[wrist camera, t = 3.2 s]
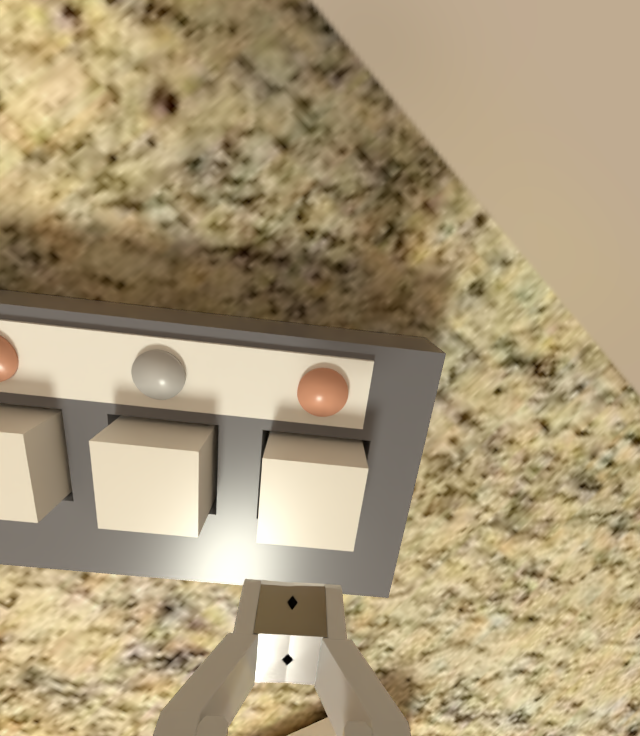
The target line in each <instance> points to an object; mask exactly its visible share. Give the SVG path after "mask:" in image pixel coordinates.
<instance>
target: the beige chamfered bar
mask: <svg viewBox="0 0 640 736" xmlns="http://www.w3.org/2000/svg"><path fill="white" fill-rule="evenodd" d="M287 736H336V733H335V731H334V729H333V727H332V725H331V722H330V720H329V718H328V717H327V718H325V719H323V720H320V721H318V722H316V723H314V724H312V725H309V726H307V727H305V728H303V729H300V730H298V731H296V732H294V733H291V734H289V735H287Z"/></svg>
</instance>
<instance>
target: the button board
mask: <svg viewBox="0 0 640 736" xmlns="http://www.w3.org/2000/svg"><path fill="white" fill-rule="evenodd" d="M445 355H446V353H445V352H443V351H442V350H441V349H439V348H438V347H437V346H435V345H434V344H433V343H431V342H430V341H429V340H427V339H426V338H423V337H414V336H405V335H396V334H388V333H379V332H370V331H361V330H352V329H343V328H335V327H326V326H317V325H308V324H299V323H291V322H282V321H273V320H264V319H255V318H247V317H238V316H229V315H220V314H211V313H203V312H194V311H185V310H176V309H167V308H158V307H150V306H141V305H132V304H123V303H114V302H106V301H97V300H88V299H79V298H70V297H62V296H53V295H44V294H35V293H26V292H18V291H9V290H0V403H5V404H15V405H25V406H35V407H45V408H54V409H62V414H63V422H64V429H65V437H66V445H67V453H68V461H69V469H70V476H71V484H72V491H71V492H70V493H69V494H68V495H67V496H66V497H65V498H64V499H63V500H62V501H61V502H60V503H59V504H58V505H57V506H56V507H54V508H53V509H52V510H51V511H50V512H49V513H48V514H47V515H46V516H45V517H44V518H43V519H42V520H41V521H40V522H38V523H32V522H21V521H10V520H0V564H3V565H15V566H26V567H38V568H50V569H61V570H73V571H84V572H96V573H107V574H119V575H131V576H142V577H154V578H165V579H177V580H188V581H200V582H212V583H223V584H235V585H243V583H244V581H245V579H255V580H261V581H262V580H268V581H279V582H290V583H293V582H299V583H319V584H331V585H340V586H341V588H342V594H350V595H362V596H373V597H385V598H388V597H389V592H390V588H391V584H392V580H393V575H394V571H395V567H396V563H397V558H398V554H399V550H400V546H401V541H402V537H403V533H404V529H405V525H406V520H407V516H408V512H409V508H410V503H411V499H412V495H413V491H414V486H415V482H416V478H417V474H418V469H419V465H420V461H421V457H422V452H423V448H424V444H425V440H426V435H427V431H428V427H429V423H430V419H431V414H432V410H433V406H434V402H435V397H436V393H437V389H438V385H439V380H440V376H441V372H442V368H443V363H444V359H445ZM121 415H123V416H132V417H142V418H152V419H162V420H172V421H181V422H191V423H201V424H211V425H219V435H218V472H217V495H216V498H215V500H214V502H213V505H212V507H211V509H210V512H209V514H208V516H207V518H206V521H205V523H204V525H203V528H202V530H201V532H200V534H199V537H198V538H197V537H186V536H175V535H164V534H153V533H142V532H131V531H120V530H109V529H98V523H97V514H96V504H95V495H94V485H93V475H92V466H91V456H90V447H89V440H91V439H92V438H93V437H94V436H96V435H97V434H98V433H99V432H101V431H102V430H103V429H104V428H106V427H107V426H108V425H110V424H111V423H112V422H113V421H115V420H116V419H117V418H118V417H120V416H121ZM269 431H279V432H289V433H299V434H308V435H318V436H328V437H338V438H347V439H357V440H362V442H363V447H364V451H365V455H366V460H367V464H368V468H369V469H368V475H367V480H366V485H365V491H364V496H363V502H362V507H361V513H360V518H359V524H358V529H357V534H356V540H355V545H354V551H353V552H351V551H340V550H329V549H318V548H307V547H296V546H285V545H274V544H263V543H256V541H257V527H258V513H259V499H260V486H261V472H262V458H263V455H264V451H265V448H266V444H267V441H268V437H269Z"/></svg>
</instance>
